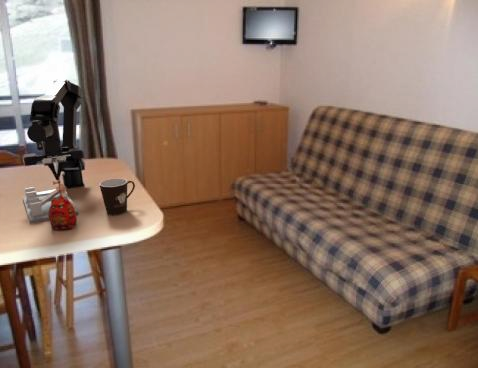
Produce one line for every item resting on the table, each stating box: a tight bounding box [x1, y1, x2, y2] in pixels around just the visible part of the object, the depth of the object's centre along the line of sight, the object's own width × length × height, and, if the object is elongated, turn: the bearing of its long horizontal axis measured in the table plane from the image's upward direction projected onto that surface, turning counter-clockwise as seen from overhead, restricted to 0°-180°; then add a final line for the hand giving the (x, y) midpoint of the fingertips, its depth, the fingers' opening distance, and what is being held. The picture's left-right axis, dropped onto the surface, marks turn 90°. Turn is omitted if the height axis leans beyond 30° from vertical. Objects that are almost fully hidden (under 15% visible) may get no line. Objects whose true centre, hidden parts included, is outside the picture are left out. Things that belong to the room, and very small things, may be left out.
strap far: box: [36, 188, 67, 197], centre depth 141 cm, size 11×4×1 cm, turn 122°
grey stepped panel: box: [22, 186, 79, 224], centre depth 136 cm, size 14×24×5 cm, turn 32°
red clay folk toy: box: [48, 175, 78, 231], centre depth 119 cm, size 8×7×15 cm
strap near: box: [39, 183, 67, 206], centre depth 130 cm, size 11×4×1 cm
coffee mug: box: [99, 177, 136, 216], centre depth 131 cm, size 12×9×10 cm
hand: (57, 180), depth 141 cm, fingers closed
